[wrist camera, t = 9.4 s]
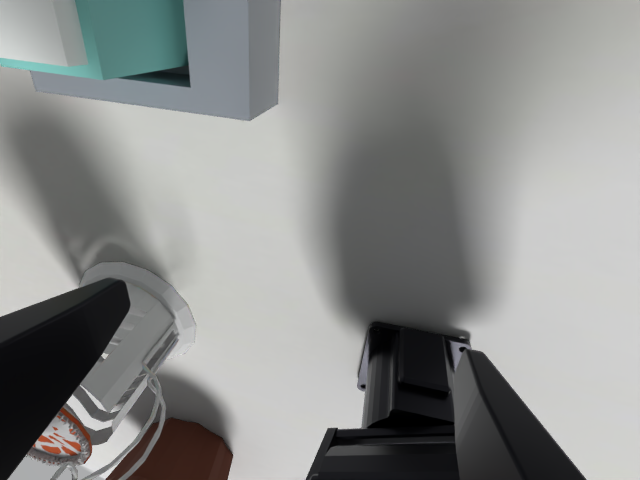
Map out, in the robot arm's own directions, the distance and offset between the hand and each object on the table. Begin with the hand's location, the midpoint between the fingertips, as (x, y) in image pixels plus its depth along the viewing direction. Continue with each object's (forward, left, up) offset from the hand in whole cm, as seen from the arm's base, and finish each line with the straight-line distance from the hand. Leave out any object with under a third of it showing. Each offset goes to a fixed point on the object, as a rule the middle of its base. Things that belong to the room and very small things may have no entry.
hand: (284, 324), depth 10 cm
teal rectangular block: (+6, +9, -11) cm, 15 cm away
